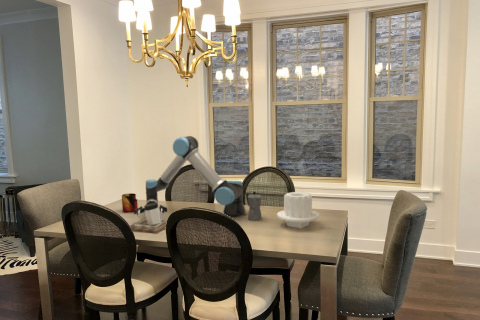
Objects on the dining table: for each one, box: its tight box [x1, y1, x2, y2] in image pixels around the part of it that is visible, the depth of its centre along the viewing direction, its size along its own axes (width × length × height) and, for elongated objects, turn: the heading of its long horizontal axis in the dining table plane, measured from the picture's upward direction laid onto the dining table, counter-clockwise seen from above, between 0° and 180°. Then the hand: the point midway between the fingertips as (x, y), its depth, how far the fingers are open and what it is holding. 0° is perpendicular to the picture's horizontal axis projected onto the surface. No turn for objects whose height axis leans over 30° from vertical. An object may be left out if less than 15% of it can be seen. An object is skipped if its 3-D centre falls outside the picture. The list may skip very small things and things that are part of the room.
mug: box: [121, 192, 139, 214], centre depth 272 cm, size 10×14×12 cm
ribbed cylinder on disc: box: [276, 191, 320, 229], centre depth 228 cm, size 25×25×19 cm
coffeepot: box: [245, 191, 263, 222], centre depth 245 cm, size 15×9×18 cm, turn 33°
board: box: [129, 217, 168, 234], centre depth 233 cm, size 22×22×3 cm
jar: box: [143, 202, 162, 225], centre depth 232 cm, size 9×8×12 cm
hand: (150, 214), depth 231 cm, fingers open, 13 cm apart
